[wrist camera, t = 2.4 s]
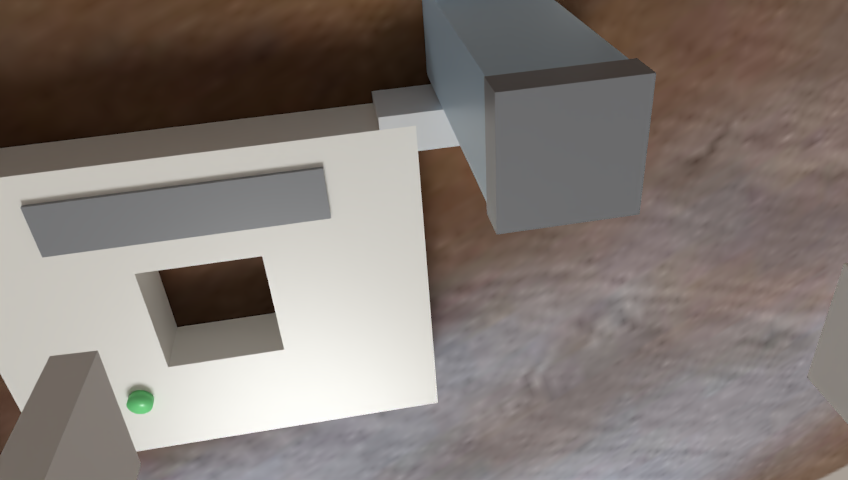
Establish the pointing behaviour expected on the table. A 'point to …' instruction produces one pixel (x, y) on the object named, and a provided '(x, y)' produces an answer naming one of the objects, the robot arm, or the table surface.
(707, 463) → the table surface
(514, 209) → the plug
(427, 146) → the cradle
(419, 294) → the port plate
